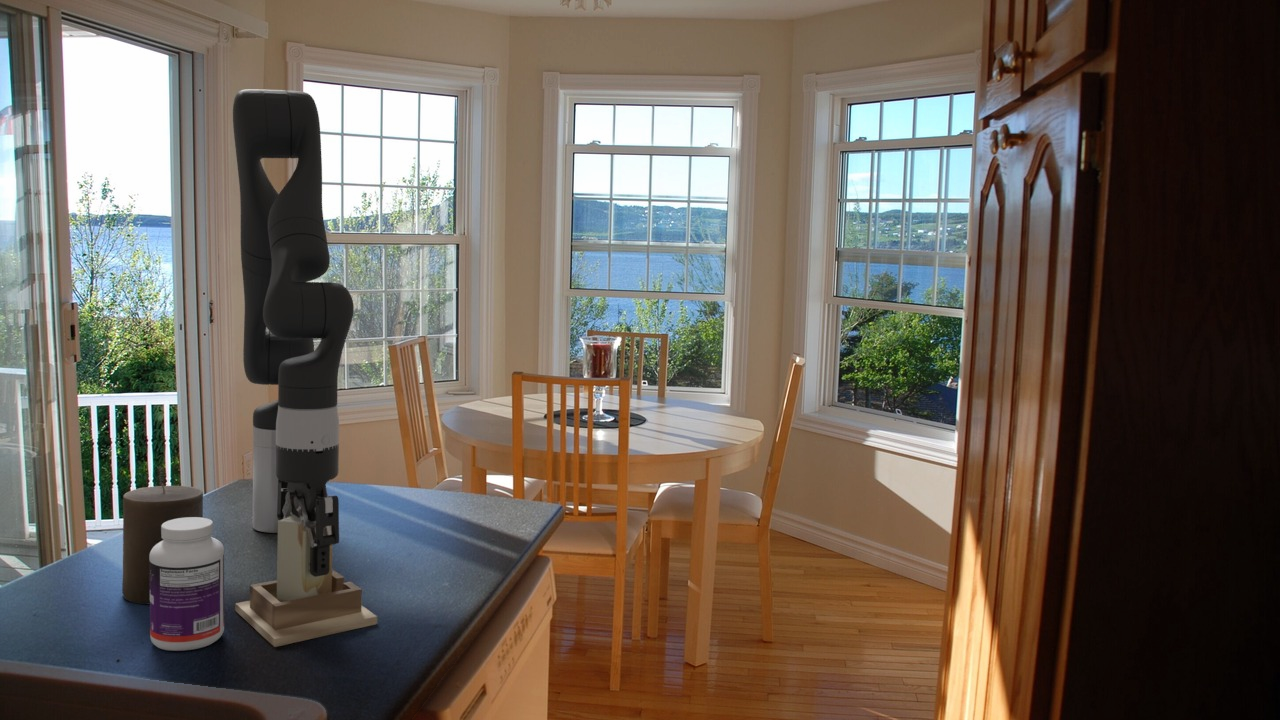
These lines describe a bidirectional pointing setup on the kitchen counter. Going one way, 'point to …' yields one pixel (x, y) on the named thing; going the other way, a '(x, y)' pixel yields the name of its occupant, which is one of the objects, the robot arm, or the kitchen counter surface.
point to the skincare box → (297, 563)
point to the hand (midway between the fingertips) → (306, 565)
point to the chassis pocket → (305, 612)
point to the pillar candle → (150, 530)
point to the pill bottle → (186, 586)
